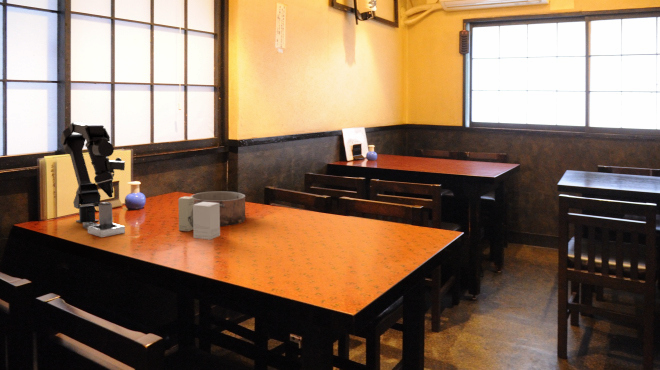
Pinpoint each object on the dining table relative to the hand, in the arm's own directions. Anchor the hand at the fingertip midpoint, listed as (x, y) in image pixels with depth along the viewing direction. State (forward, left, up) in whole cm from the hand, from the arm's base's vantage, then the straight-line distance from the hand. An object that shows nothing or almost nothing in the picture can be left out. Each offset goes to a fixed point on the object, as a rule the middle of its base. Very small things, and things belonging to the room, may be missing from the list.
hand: (111, 195), depth 209 cm
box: (+25, +16, -13) cm, 32 cm away
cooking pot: (+22, +36, -13) cm, 44 cm away
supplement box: (+39, +14, -13) cm, 43 cm away
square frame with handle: (+2, -7, -13) cm, 15 cm away
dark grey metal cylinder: (+7, -7, -13) cm, 16 cm away
